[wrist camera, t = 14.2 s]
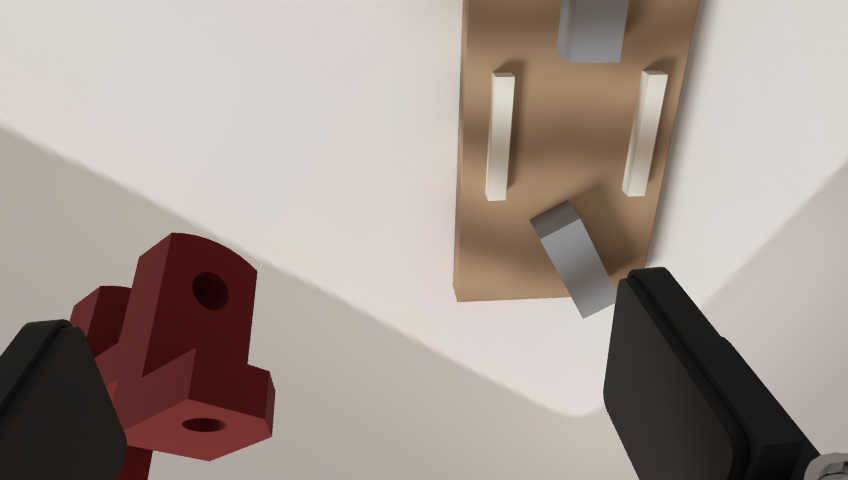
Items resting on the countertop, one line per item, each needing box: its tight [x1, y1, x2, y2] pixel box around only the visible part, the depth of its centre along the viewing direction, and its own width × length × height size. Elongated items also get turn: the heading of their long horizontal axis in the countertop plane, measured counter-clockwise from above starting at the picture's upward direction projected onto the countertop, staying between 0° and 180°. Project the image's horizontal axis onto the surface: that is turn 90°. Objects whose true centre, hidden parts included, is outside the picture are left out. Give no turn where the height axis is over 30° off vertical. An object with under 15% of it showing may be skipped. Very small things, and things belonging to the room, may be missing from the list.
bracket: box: [69, 233, 275, 480], centre depth 18 cm, size 3×6×10 cm
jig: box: [453, 0, 699, 319], centre depth 35 cm, size 22×12×4 cm, turn 0°
